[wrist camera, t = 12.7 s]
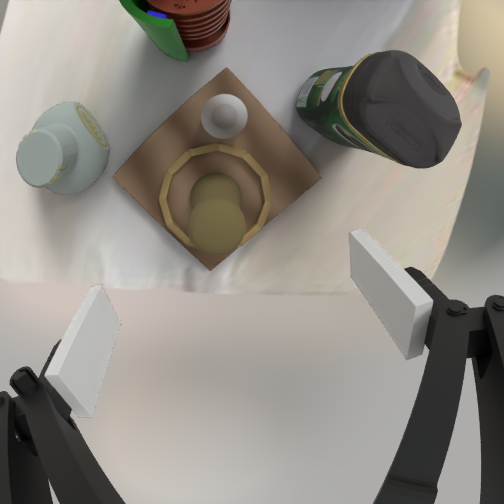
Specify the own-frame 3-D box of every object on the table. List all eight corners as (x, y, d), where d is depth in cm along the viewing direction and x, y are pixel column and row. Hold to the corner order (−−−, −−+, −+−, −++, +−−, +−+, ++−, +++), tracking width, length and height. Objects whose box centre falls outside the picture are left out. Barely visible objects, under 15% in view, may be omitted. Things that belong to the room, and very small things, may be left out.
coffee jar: (378, 104, 34) (482, 113, 18) (348, 153, 37) (440, 193, 20) (316, 59, 32) (399, 26, 15) (284, 112, 34) (345, 114, 17)
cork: (202, 230, 38) (199, 276, 28) (181, 185, 35) (168, 216, 25) (249, 210, 37) (263, 250, 27) (230, 164, 35) (236, 187, 25)
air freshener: (34, 134, 31) (-11, 145, 22) (78, 91, 30) (38, 88, 21) (78, 198, 35) (42, 226, 26) (124, 159, 34) (95, 176, 25)
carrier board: (226, 69, 31) (228, 58, 24) (318, 175, 38) (339, 190, 31) (115, 174, 35) (94, 189, 28) (210, 265, 41) (210, 297, 35)
